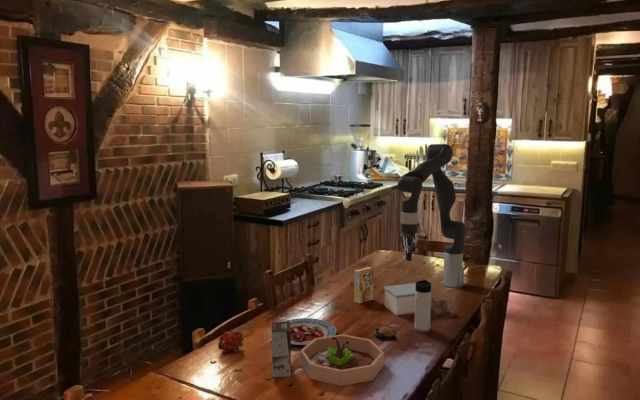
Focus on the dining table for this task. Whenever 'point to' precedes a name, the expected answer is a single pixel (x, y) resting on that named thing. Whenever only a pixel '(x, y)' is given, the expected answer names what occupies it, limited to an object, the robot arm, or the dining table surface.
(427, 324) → the travel mug
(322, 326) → the ceramic plate
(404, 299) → the chest
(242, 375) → the dining table surface
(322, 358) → the plant
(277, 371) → the coffee box
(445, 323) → the dining table surface
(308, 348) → the brown shallow octagonal piece
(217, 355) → the dining table surface
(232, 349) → the dragon fruit
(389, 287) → the lid
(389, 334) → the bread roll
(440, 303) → the walnut block
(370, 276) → the candy box
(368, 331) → the dining table surface
